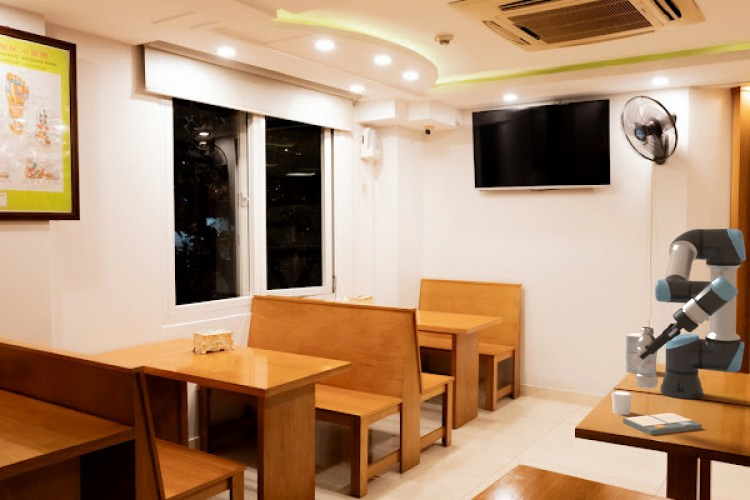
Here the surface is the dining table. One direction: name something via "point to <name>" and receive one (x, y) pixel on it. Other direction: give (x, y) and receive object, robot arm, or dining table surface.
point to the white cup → (621, 402)
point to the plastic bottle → (646, 361)
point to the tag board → (662, 423)
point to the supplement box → (631, 351)
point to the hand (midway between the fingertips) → (635, 361)
